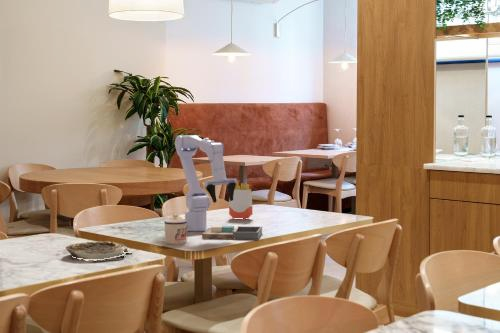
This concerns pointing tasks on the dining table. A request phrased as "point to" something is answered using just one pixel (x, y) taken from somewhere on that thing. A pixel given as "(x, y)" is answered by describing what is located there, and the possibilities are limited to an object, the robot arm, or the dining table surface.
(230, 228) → the teal tile
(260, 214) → the dining table surface
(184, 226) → the teacup with lid
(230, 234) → the walnut board
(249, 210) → the french fries container
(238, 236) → the tray
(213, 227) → the cream tile
